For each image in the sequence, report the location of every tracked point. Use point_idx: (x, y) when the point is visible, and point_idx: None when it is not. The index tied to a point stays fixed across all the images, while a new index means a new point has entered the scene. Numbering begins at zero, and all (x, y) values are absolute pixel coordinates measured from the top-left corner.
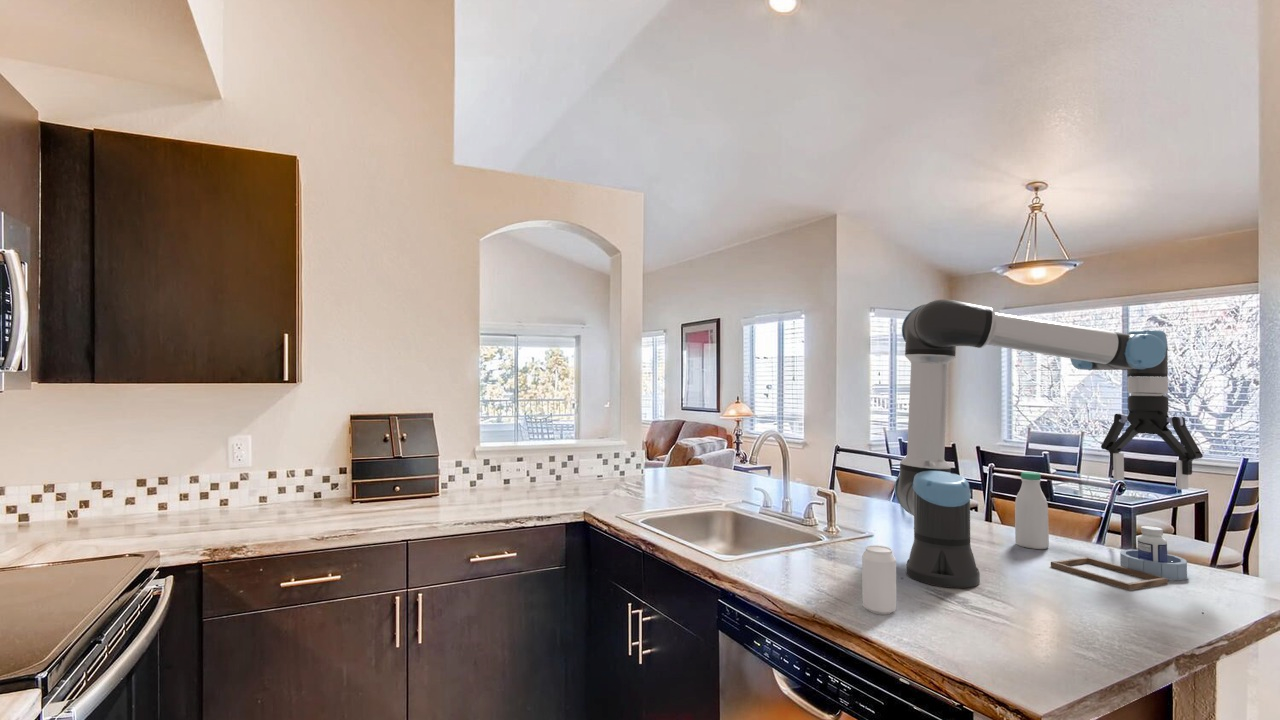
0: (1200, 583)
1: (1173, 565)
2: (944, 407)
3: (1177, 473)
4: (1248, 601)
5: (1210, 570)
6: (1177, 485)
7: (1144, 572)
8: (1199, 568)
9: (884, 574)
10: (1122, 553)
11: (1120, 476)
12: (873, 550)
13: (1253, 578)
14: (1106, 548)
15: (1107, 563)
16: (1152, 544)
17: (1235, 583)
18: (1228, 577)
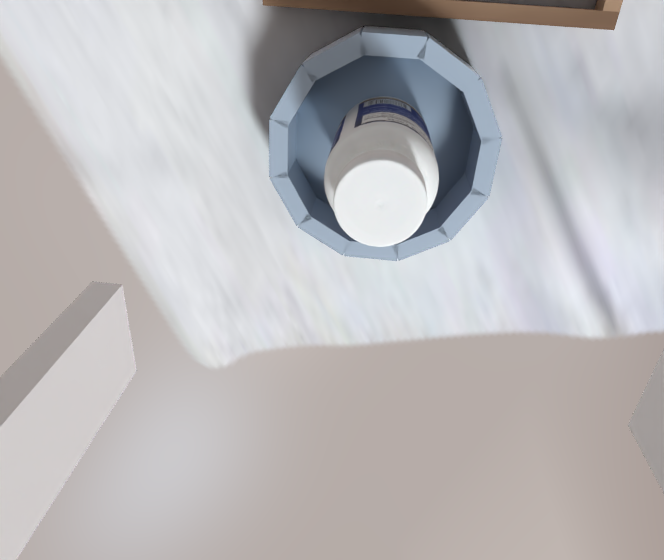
0: (233, 142)
1: (278, 104)
2: None
3: (32, 381)
4: (53, 58)
5: (311, 334)
6: (101, 300)
7: (351, 11)
8: (337, 329)
9: None
10: (473, 83)
11: (660, 409)
12: None
13: (218, 348)
14: (627, 325)
15: (506, 4)
16: (354, 127)
17: (200, 249)
18: (247, 300)
